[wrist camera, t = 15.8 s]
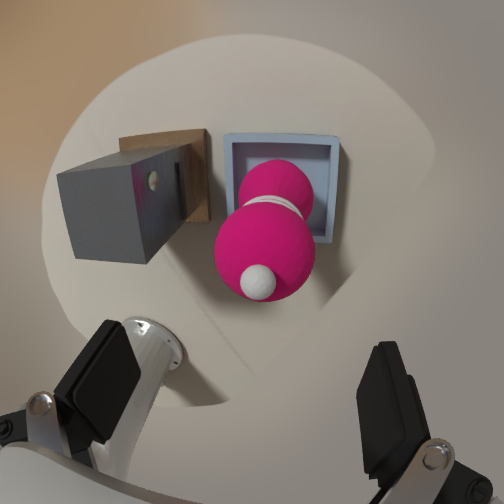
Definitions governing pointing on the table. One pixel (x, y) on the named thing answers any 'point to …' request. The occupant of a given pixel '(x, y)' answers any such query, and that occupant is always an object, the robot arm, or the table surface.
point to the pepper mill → (268, 234)
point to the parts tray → (297, 152)
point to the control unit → (136, 196)
